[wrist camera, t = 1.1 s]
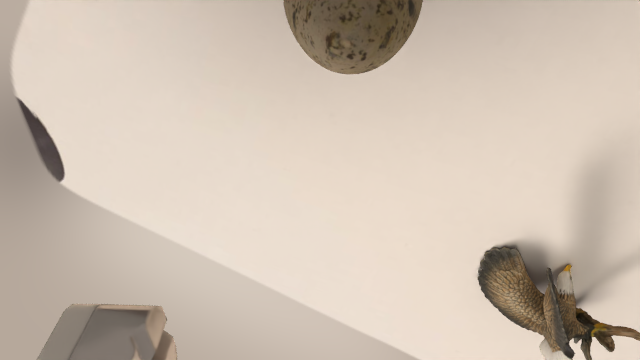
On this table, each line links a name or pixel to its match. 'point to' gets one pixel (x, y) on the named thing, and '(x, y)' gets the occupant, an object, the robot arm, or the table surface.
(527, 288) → the eagle figurine
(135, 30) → the table surface
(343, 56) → the decorative egg
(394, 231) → the table surface
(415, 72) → the table surface
